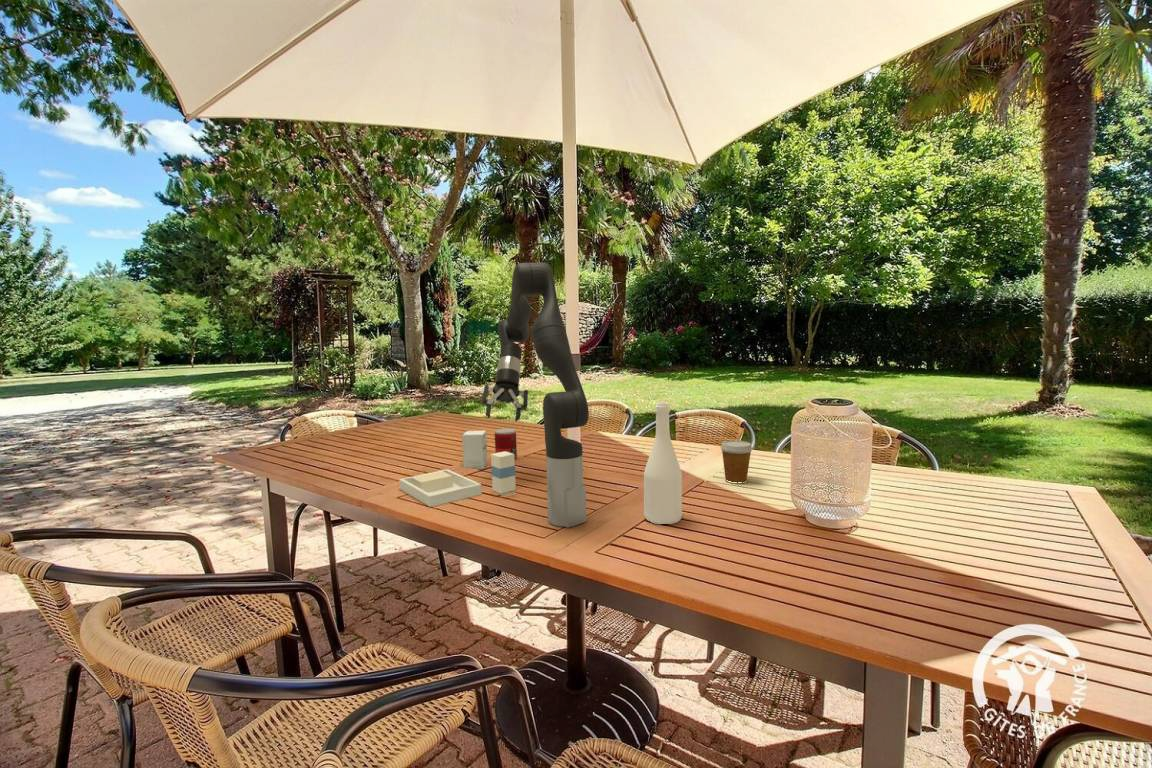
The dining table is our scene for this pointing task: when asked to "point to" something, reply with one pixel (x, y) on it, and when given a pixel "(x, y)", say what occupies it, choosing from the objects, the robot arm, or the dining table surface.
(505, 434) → the canned food
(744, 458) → the brown clear cup
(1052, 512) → the dining table surface
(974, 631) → the dining table surface
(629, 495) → the dining table surface
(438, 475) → the cream rectangular block
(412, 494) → the tray
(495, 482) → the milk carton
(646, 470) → the wine bottle
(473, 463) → the supplement box
